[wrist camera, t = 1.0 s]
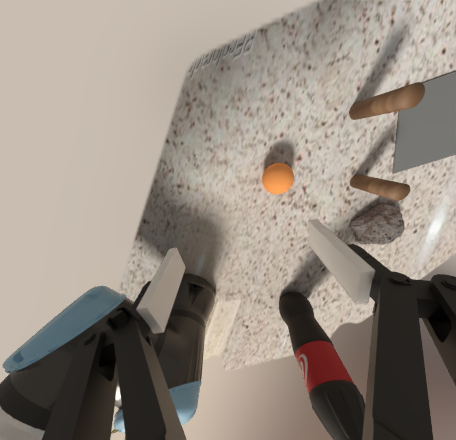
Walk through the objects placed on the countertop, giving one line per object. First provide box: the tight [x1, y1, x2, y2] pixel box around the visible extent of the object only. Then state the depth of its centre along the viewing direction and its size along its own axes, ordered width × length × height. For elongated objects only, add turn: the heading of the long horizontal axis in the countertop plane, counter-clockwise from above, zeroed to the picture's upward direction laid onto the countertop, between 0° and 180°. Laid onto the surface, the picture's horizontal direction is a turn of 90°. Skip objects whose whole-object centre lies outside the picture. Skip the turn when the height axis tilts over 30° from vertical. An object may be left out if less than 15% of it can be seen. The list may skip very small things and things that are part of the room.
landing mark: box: [393, 71, 456, 174], centre depth 29 cm, size 14×14×1 cm
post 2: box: [350, 175, 410, 201], centre depth 29 cm, size 3×3×9 cm
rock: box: [351, 203, 404, 245], centre depth 35 cm, size 9×11×4 cm
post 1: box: [349, 82, 425, 120], centre depth 24 cm, size 3×3×9 cm
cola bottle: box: [279, 292, 365, 440], centre depth 33 cm, size 8×8×30 cm
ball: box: [262, 163, 294, 194], centre depth 29 cm, size 6×6×6 cm
